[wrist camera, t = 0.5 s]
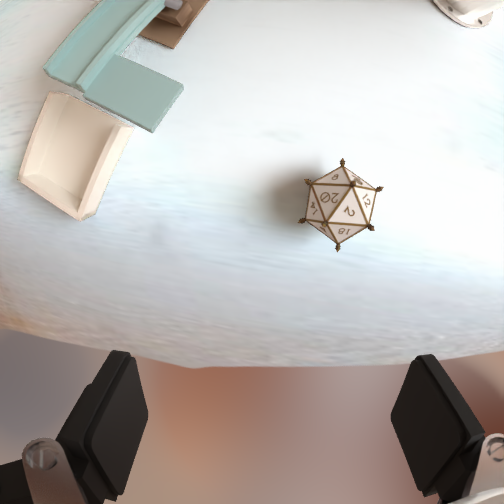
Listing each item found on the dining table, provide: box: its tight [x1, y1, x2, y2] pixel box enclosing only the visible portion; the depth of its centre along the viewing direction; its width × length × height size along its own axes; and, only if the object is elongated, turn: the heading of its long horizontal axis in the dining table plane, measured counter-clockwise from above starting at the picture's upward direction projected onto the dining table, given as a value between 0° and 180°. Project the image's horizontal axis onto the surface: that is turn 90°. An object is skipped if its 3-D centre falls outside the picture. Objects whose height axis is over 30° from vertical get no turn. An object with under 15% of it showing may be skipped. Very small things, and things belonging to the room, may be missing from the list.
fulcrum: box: [138, 0, 209, 49], centre depth 27 cm, size 8×10×4 cm
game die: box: [298, 158, 384, 252], centre depth 32 cm, size 9×8×10 cm
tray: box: [17, 91, 134, 222], centre depth 32 cm, size 12×12×4 cm
